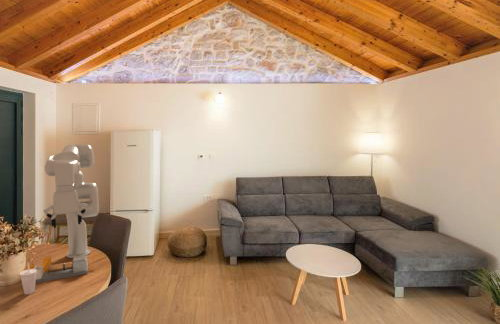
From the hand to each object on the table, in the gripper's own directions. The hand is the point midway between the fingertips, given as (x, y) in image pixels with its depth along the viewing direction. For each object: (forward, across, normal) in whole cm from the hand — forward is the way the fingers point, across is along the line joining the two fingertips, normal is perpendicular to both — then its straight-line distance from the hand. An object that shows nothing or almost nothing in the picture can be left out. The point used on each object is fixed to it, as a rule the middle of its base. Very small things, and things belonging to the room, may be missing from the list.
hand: (67, 225), depth 139 cm
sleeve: (+28, -6, -16) cm, 33 cm away
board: (+30, +2, -17) cm, 34 cm away
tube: (+27, 0, -17) cm, 32 cm away
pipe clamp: (+30, +12, -26) cm, 41 cm away
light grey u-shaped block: (+28, +12, -19) cm, 36 cm away
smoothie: (+30, +16, -6) cm, 34 cm away
